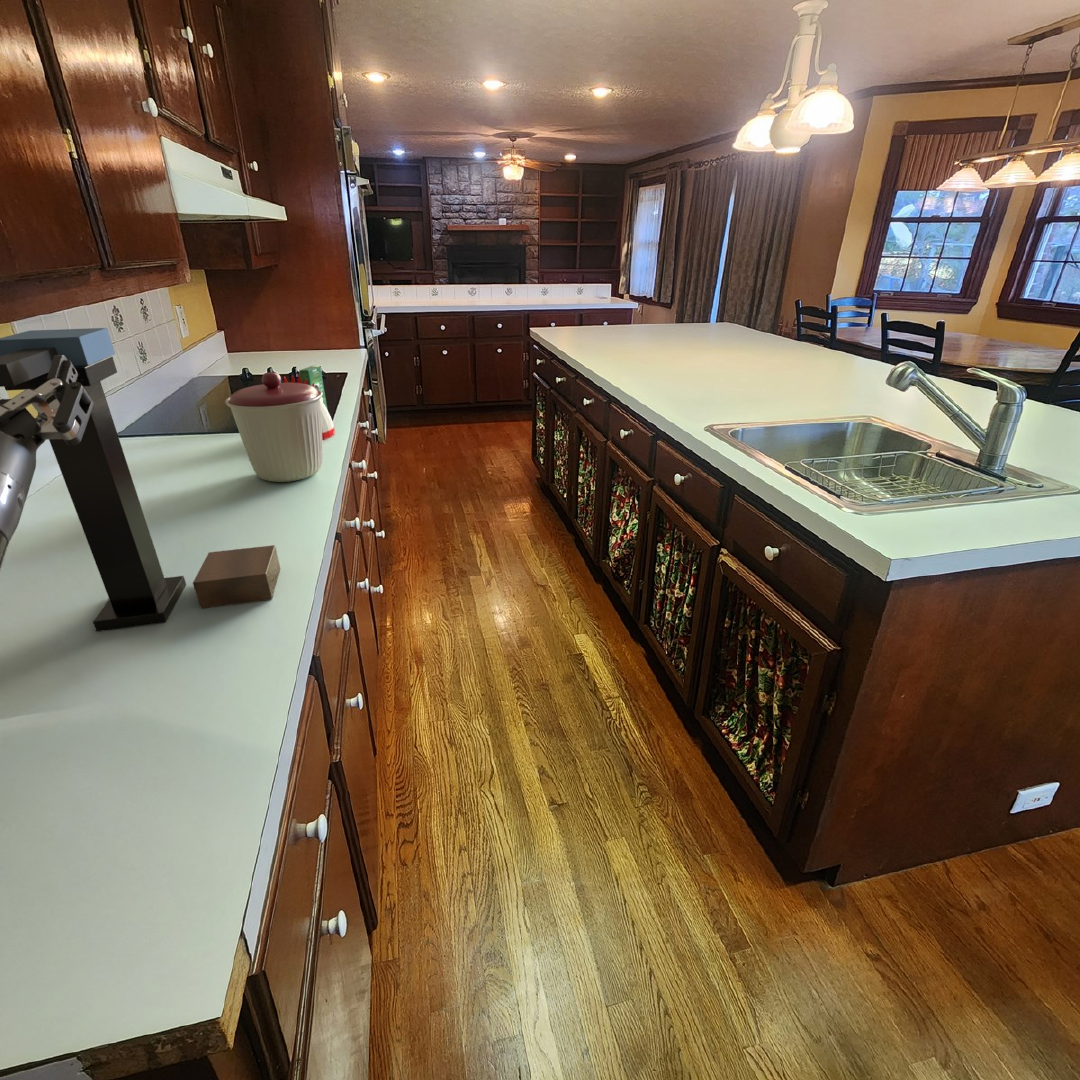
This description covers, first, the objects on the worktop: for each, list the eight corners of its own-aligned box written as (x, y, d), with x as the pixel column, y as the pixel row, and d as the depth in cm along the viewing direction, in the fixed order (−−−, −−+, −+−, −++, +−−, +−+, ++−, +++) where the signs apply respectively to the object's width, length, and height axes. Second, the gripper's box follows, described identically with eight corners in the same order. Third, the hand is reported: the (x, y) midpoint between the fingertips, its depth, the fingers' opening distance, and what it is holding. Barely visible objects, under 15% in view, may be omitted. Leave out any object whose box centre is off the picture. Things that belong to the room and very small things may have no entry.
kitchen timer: (277, 431, 157) (264, 372, 151) (332, 425, 162) (322, 368, 156) (278, 445, 146) (265, 383, 139) (337, 438, 151) (327, 377, 144)
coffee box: (319, 410, 176) (311, 364, 171) (328, 410, 176) (321, 364, 170) (306, 417, 169) (297, 370, 163) (316, 418, 169) (307, 370, 163)
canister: (285, 457, 138) (266, 362, 129) (352, 465, 133) (337, 366, 124) (223, 483, 123) (197, 378, 114) (297, 494, 118) (275, 384, 108)
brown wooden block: (200, 608, 81) (192, 582, 79) (215, 576, 89) (208, 552, 87) (272, 599, 83) (265, 574, 81) (280, 568, 91) (275, 544, 89)
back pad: (-56, 389, 55) (-71, 355, 54) (38, 357, 71) (29, 330, 70) (45, 384, 57) (33, 351, 56) (115, 354, 73) (107, 327, 71)
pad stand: (96, 631, 76) (-8, 373, 62) (124, 592, 85) (38, 357, 71) (166, 622, 78) (80, 369, 64) (186, 584, 87) (115, 354, 73)
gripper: (39, 455, 49) (77, 328, 58) (-175, 470, 46) (-101, 334, 55) (85, 510, 55) (114, 388, 64) (-101, 527, 52) (-45, 397, 61)
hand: (15, 364), depth 59 cm, fingers open, 8 cm apart
